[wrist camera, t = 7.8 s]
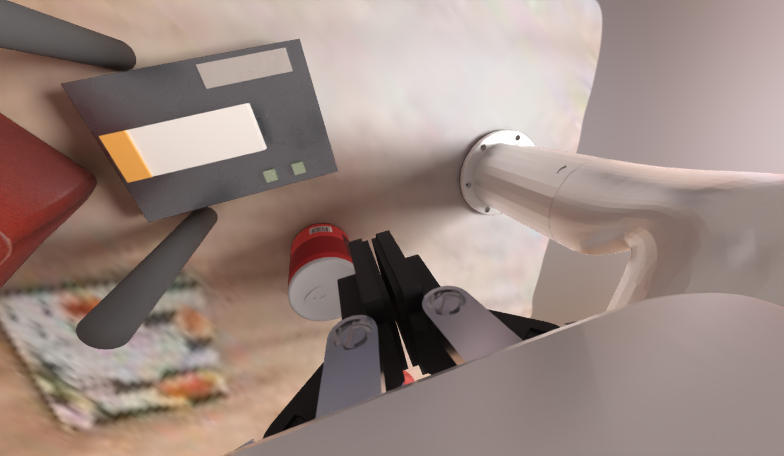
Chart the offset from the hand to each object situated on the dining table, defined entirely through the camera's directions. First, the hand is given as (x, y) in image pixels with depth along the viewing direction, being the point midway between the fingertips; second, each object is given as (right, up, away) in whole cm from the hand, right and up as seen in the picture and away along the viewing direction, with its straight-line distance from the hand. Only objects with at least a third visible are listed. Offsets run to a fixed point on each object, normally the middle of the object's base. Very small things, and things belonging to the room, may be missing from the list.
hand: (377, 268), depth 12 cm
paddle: (-17, +9, +14) cm, 24 cm away
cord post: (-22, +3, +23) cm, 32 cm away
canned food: (-9, -1, +29) cm, 31 cm away
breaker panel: (-17, +12, +21) cm, 30 cm away
